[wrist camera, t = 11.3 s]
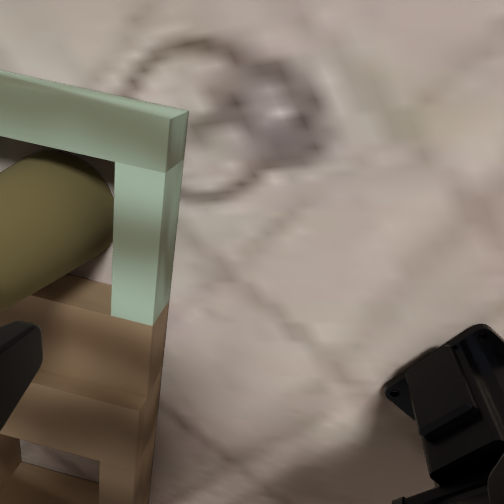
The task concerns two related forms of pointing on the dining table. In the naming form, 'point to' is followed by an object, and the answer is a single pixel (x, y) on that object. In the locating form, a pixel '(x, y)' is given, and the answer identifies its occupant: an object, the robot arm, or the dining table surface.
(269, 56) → the dining table surface
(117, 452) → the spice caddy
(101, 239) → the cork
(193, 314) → the dining table surface
